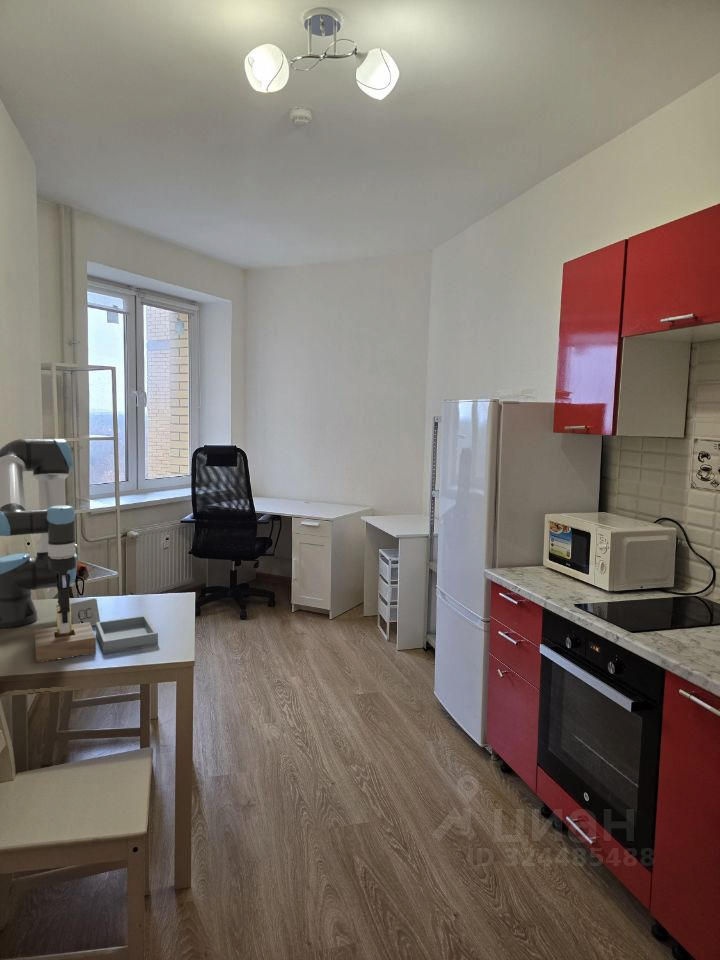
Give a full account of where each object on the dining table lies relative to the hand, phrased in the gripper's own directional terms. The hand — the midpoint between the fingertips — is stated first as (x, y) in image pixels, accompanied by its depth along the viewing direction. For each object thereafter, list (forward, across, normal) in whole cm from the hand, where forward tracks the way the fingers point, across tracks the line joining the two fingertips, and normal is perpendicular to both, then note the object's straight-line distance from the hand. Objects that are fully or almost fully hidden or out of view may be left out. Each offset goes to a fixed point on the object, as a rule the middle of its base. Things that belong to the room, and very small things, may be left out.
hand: (64, 630), depth 185 cm
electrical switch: (+6, +20, -7) cm, 22 cm away
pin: (+6, 0, 0) cm, 6 cm away
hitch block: (+6, 0, 0) cm, 6 cm away
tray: (+6, 0, -18) cm, 19 cm away
